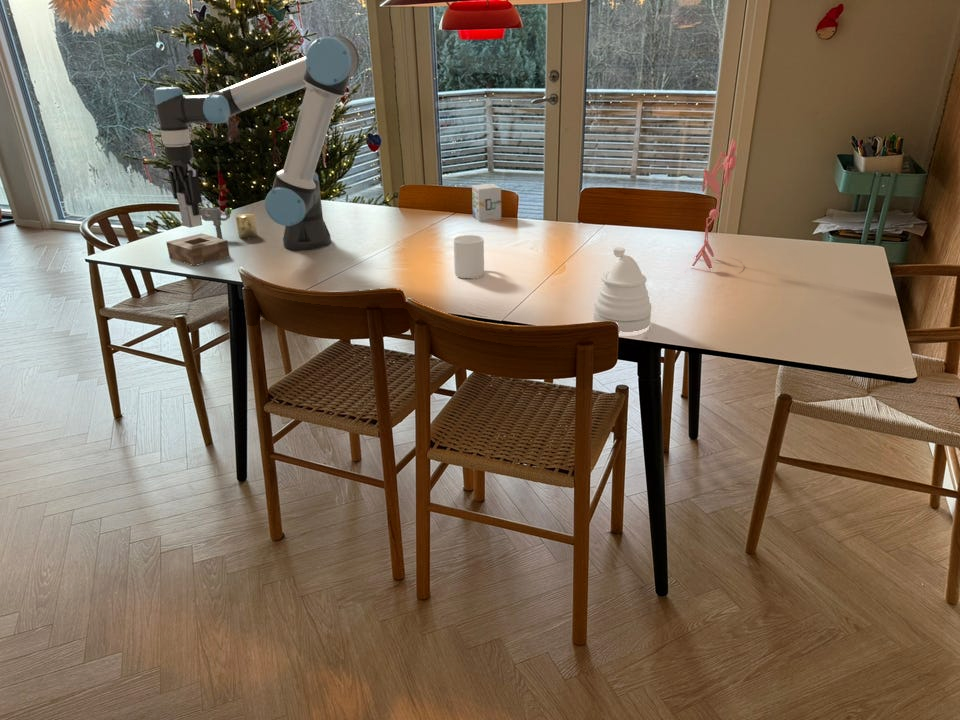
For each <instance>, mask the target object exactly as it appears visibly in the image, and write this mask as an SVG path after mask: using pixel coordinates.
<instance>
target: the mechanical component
mask: <svg viewBox="0 0 960 720" xmlns="http://www.w3.org/2000/svg"><path fill="white" fill-rule="evenodd" d="M199 210H200V215H201V220H203V221H205V222H206V221H207V222H212V223H213V224H212V225H213V226H214V227H215V232H216V238H221V239H223V235H222V234H223V232H222V228H221V226H222V222H221V221H223V222H225V221H228V220H229V219H230V217H231V214H232V209H231V208H228V207H226V208H225V209H224V212H222V210H220V207H203V208H199ZM222 216H226V217H222Z"/></svg>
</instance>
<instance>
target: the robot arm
mask: <svg viewBox="0 0 960 720" xmlns="http://www.w3.org/2000/svg"><path fill="white" fill-rule="evenodd" d="M359 65H360V55H359V51H358V48H357V47H356V46H355V44H354V43H353V42H352V41H351V40H350V39H349V38H347V37H344V36H342V35H324V36H320V37H318V38H317V39H315V40H314V41H312V43H311V44H310V45H309V47H308V48H307V50H306V53H305V56H303V57H301V58H298V59H296V60H293V61H290V62H288V63H286V64H283V65H280V66H277V67H276V68H272V69H270V70H267V71H266V72H263V73H260V74H257V75H255V76H253V77H250V78H247V79H245V80H242V81H240V82H238V83H235V84H233V85H230V86H227V87H225V88H222V89H219V90H217V91H214V92H209V93H205V94H184V92H183V91H182V88H181V87H180V86H179V87H177V86H162V87H156V88H155V89H154V90H153V97H154V105H155V109H156V114H157V118H158V123H159V129H160V130H159V131H160V136H161V140H162V141H161V142H162V144H163V145H164V147H163V150H164V155H165V159H167V160H168V161H170V164H168V165H166V167H165V168H166V171H167V173H168V178H169V181H170V187H171V190H172V195H173V199H175V200H177V202H178V197H177V192H182V191H186V194H187V197H188V201H189V204H187V205H188V208H189V214H190V219H191V224H192V227H191V228H195V226H196V227H200V226H202V225H201V221H202V219H201V220H200V215H201V214H199V209H200V208H199V209H198V204H200V203H202V202H203V201H202V200H203V199H202V194H201V187H200V186H201V185H200V180H199V169H198V168H195V169H194V168H193V166H192V165H193V164H192V163H191V159H193V158H194V152H193V151H194V150H193V145H192V144H190V143H191V142H192V141H191V136H190V134H191V132H190V130H189V124H213V125H216V124H217V125H218V124H224V123H227V122H228V121H229V118H230V117H232V116H234V115H237V114H240V113H242V112H244V111H246V110H250V109H251V108H254V107H257V106H259V105H262V104H264V103H267V102H270V101H272V100H275V99H277V98H281V97H284V96H285V95H289V94H291V93H294V92H296V91H298V90H301V89H304V88H305V92H304V96H303V100H302V103H301V107H300V109H299V113H298V117H297V121H296V123H295V127H294V132H293V135H292V138H291V140H290V141H291V142H290V144H289V148H288V152H287V155H286V158H285V163H284V166H283V168H282V169H280V170H278V171H277V172H276V174H275V177H274V181H273V185H272V188H271V189H270V190H269V192H268V193H267V194H266V197H265V200H264V208H265V212H266V214H267V215H268V216H269V218H270V219H271V220H272V221H273V222H275V223H276V224H277V225H280V226H283V227H284V230H283V231H284V232H283V237H282V242H283V243H282V244H283V247H284V248H285V249H287V250H292V251H293V250H295V251H310V250H311V251H312V250H316V249H320V248H325V247H328V246H329V245H331V243H332V239H331V237H332V236H331V233H330V232H329V229H328V226H327V225H326V222H325V219H324V216H323V215H324V214H323V207H322V206H323V205H322V199H321V198H322V197H321V188H320V180H319V175H318V173H317V172H316V169H317V166H318V163H319V160H320V156H321V152H322V149H323V146H324V142H325V139H326V136H327V132H328V130H329V126H330V124H331V121H332V120H331V119H332V118H333V117H332V116H333V114H334V111H335V107H336V104H337V101H338V100H339V99H341V98H343V97H344V96H345V94H346V92H347V87H348V84H349V81H350V78H351V77H353V76H354V75H355V74H356V72H357V70H358V68H359Z"/></svg>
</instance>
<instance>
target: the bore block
mask: <svg viewBox="0 0 960 720" xmlns="http://www.w3.org/2000/svg"><path fill="white" fill-rule="evenodd" d="M165 243H166V246H167V251H168V252H167V253H168V255H169V258H170V259H172V260H175V261H177V262H181V263H184V262H185V263H184V264H187V263H188V264H187V265H190V264H192V265H191V266H193V265H196V266H198V265H197V264H200V265H202V264H201V263H204V264H207V263H210V261H211V262H214V261H217V259H218V260H221V259H220V258H222V259H224V257H225V258H229V257H230V256H231V255H230V249H229V244H228V240H226V239H223V238H221V239H220V238H217V236H212V235H210V234H209V235H208V234H205V233H201V232H200V233H198V234H194V235H189V236H185V237H181V238H177V239H173V240H168V241H166V242H165ZM228 256H229V257H228ZM213 260H214V261H213ZM206 262H207V263H206Z"/></svg>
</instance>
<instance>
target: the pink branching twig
mask: <svg viewBox="0 0 960 720" xmlns="http://www.w3.org/2000/svg"><path fill="white" fill-rule="evenodd" d="M736 149H737V140H735V138H732V140H731V142H730V145H729V150H728V155H726V154H725V153H724V151H721V152H720V155H719V157H718V159H717V162H716V163H715V165H714V168H713V170H712V172H711V171H709V170H707V169H706V168H704V169H703V179H702V189H701V190H702V192H703V193H704V192H705V190H706V188H707V186H708V187H709V188H710V190H713V192H714V193H716V194H717V195H718V197H717V203H716V207H715V208H712V209H711V210H710V211H709V213H708V215H709V217H707V218H706V221H705V222H706V227H705V230H704V231H705V234H704V240H703V245H702V247H701V248H700V250H699V251H698V253H697V254H696V255H695V257H697V258H696V259H695V260H694V262H693V263H692V265H691V266H694V267H695V265H696V264H697V262H698V261H699V260H700V259H701V257H702V258H703V261H704V262H705V264H706V266H707V267H708V269H709V270H710V268H712V269H713V265H712V261H711V259H710V257H714V258H715V254H714V251H713V248H712V247H711V245H710V243H709V230H708V229H709V226H710V225H711V223H712V222H713V221H714V220H716V219H718V218H719V217H720V211H719V210H718V209H719V205H720V201H721V197H722V192H721V190H720V185H719V184H720V183H719V182H718V179H717V178H716V175H717V174H718V172H720V170H721V169H722V168H723V170H724V175H723V185H724V186H725V187H726V188H728V186H729V184H730V179H731V174H732V172H733V171H734V170H735V168H736V165H737V160H738V159H737V158H738V157H737V156H736V155H735V154H736ZM721 159H723V160H724V161H723V163H721V165H720V166H719V163H720V161H721ZM718 166H719V167H718ZM710 219H711V220H710ZM709 220H710V222H709ZM706 250H707V251H706ZM708 253H709V255H710V257H709V255H708Z"/></svg>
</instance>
